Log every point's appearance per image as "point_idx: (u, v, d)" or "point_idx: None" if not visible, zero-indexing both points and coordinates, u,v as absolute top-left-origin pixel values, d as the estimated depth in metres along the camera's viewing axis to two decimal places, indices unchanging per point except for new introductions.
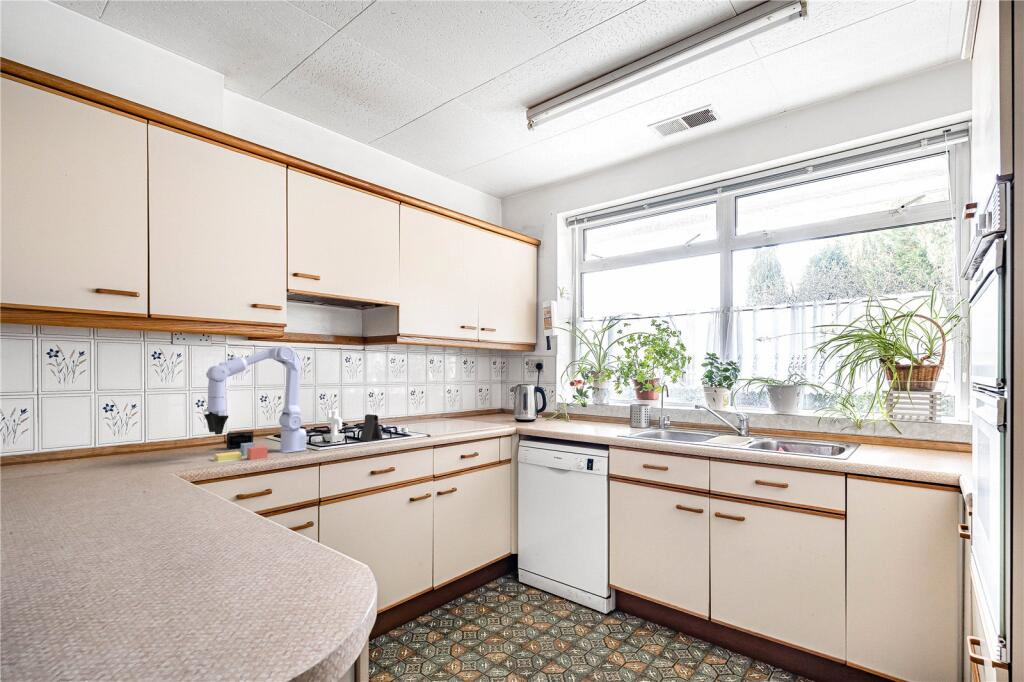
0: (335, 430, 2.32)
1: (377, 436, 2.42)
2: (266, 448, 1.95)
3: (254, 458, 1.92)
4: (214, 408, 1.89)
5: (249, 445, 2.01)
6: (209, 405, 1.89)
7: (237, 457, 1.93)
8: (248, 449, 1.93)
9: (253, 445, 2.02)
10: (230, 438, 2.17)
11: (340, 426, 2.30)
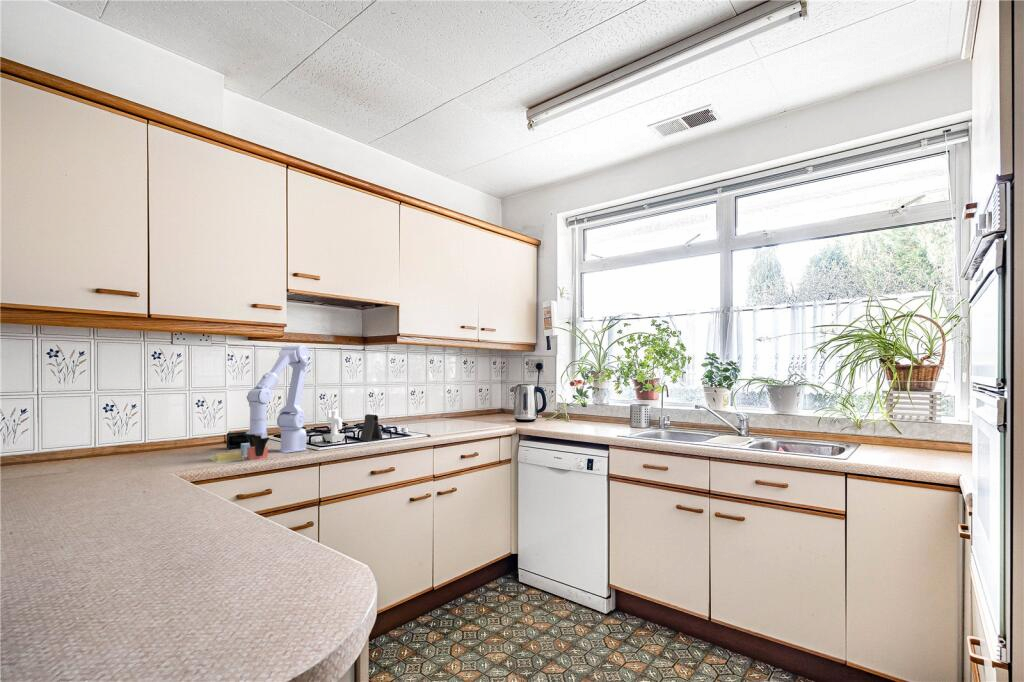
0: (335, 430, 2.32)
1: (377, 436, 2.42)
2: (266, 448, 1.95)
3: (254, 458, 1.92)
4: (256, 430, 1.92)
5: (249, 445, 2.01)
6: (251, 427, 1.92)
7: (237, 457, 1.93)
8: (248, 449, 1.93)
9: None
10: (230, 438, 2.17)
11: (340, 426, 2.30)
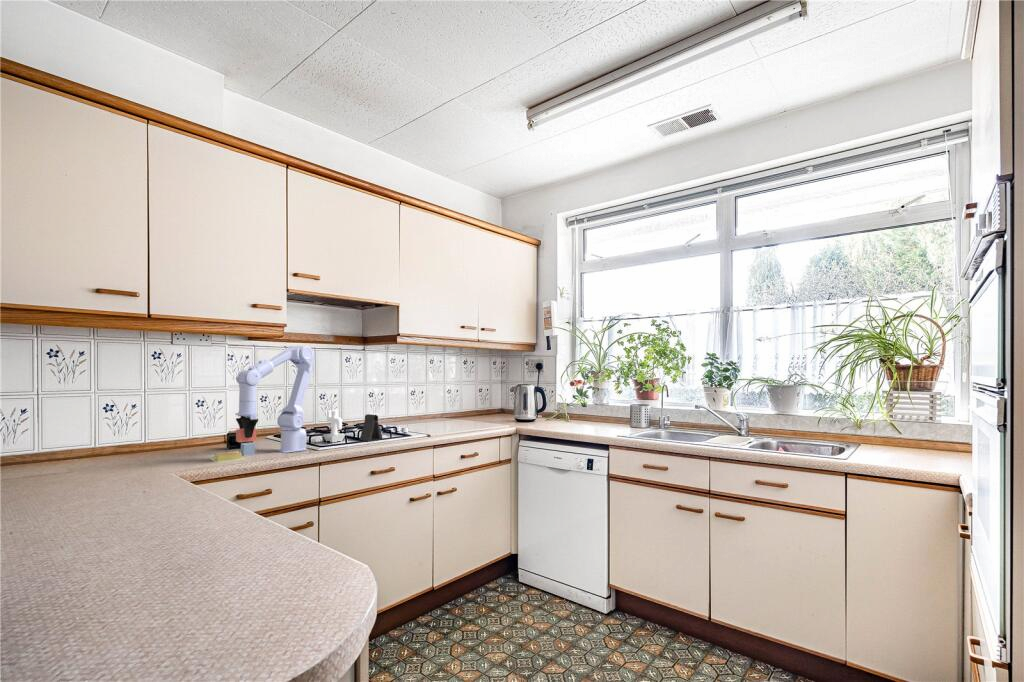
0: (335, 430, 2.32)
1: (377, 436, 2.42)
2: (255, 430, 1.94)
3: (243, 440, 1.91)
4: (246, 412, 1.92)
5: (249, 445, 2.01)
6: (241, 409, 1.92)
7: (237, 457, 1.93)
8: (237, 431, 1.92)
9: (253, 445, 2.02)
10: (230, 438, 2.17)
11: (340, 426, 2.30)
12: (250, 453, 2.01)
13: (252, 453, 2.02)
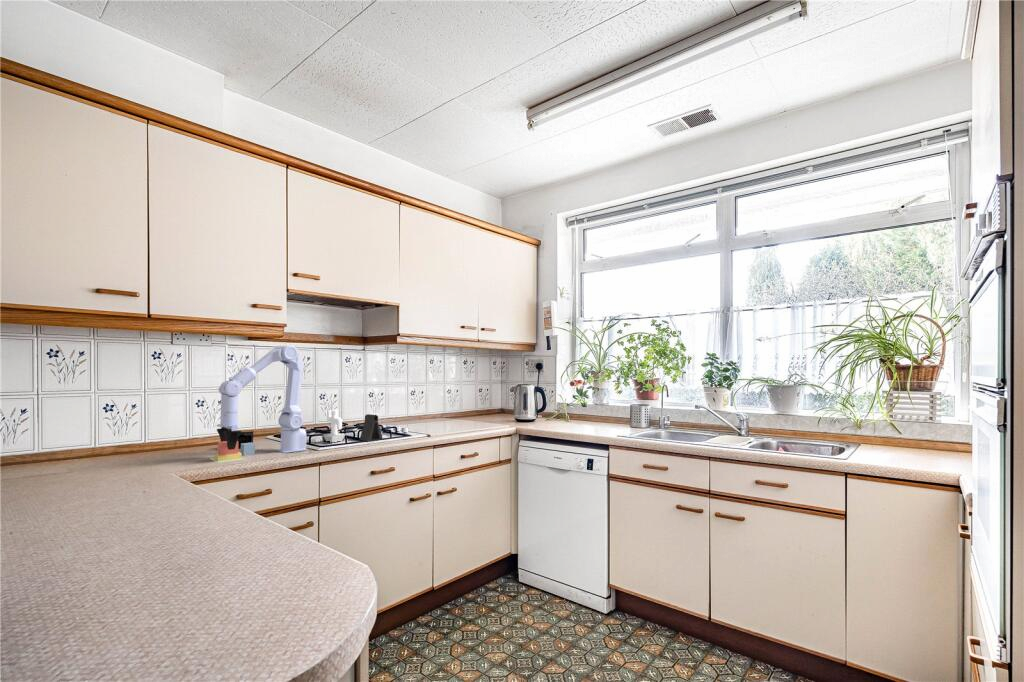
0: (335, 430, 2.32)
1: (377, 436, 2.42)
2: (237, 442, 1.93)
3: (224, 452, 1.90)
4: (227, 423, 1.90)
5: (249, 445, 2.01)
6: (222, 420, 1.91)
7: (237, 457, 1.93)
8: (218, 443, 1.91)
9: (253, 445, 2.02)
10: None
11: (340, 426, 2.30)
12: (250, 453, 2.01)
13: (252, 453, 2.02)
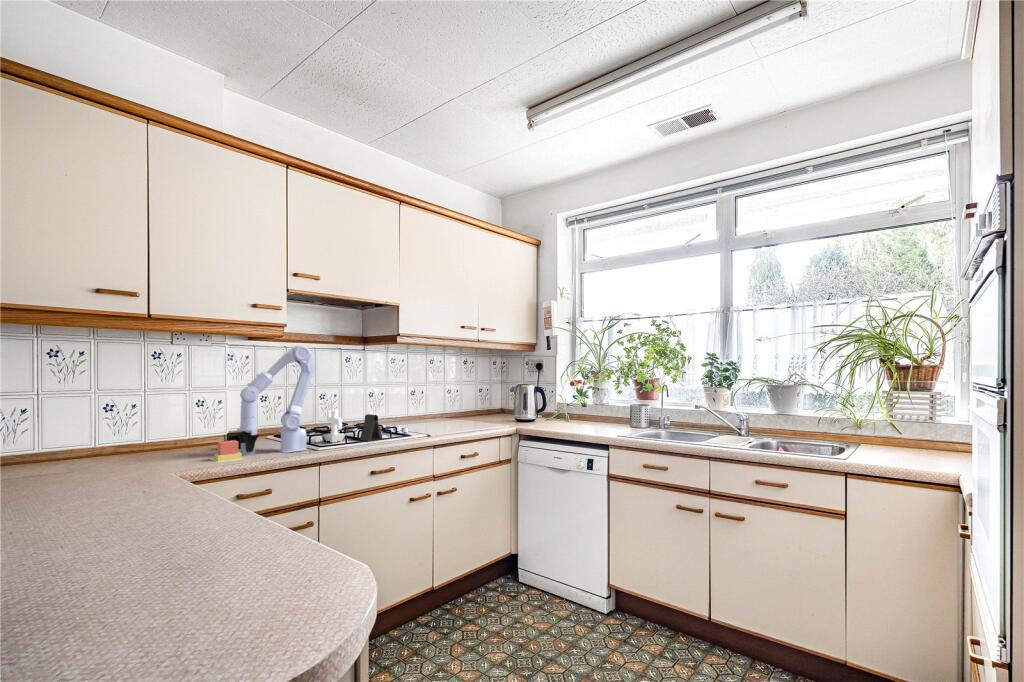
0: (335, 430, 2.32)
1: (377, 436, 2.42)
2: (237, 442, 1.93)
3: (224, 452, 1.90)
4: (247, 427, 2.00)
5: None
6: (242, 425, 2.00)
7: (237, 457, 1.93)
8: (218, 443, 1.91)
9: None
10: (230, 438, 2.17)
11: (340, 426, 2.30)
12: (250, 453, 2.01)
13: (252, 453, 2.02)
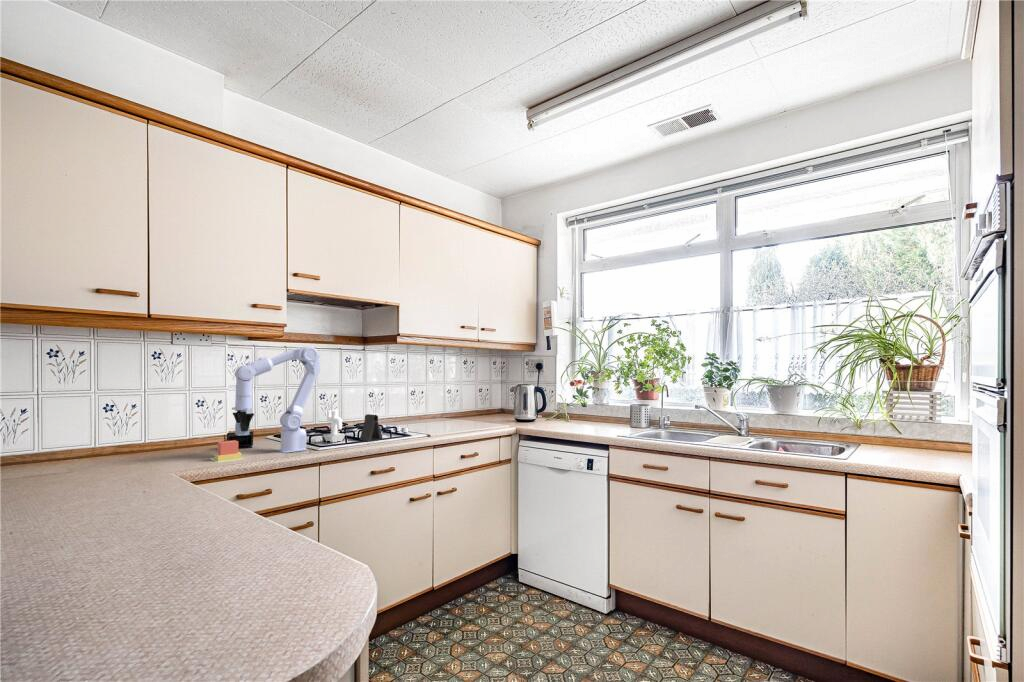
0: (335, 430, 2.32)
1: (377, 436, 2.42)
2: (237, 442, 1.93)
3: (224, 452, 1.90)
4: (242, 406, 1.97)
5: None
6: (237, 403, 1.98)
7: (237, 457, 1.93)
8: (218, 443, 1.91)
9: None
10: (230, 438, 2.17)
11: (340, 426, 2.30)
12: (245, 433, 1.99)
13: (247, 433, 1.99)
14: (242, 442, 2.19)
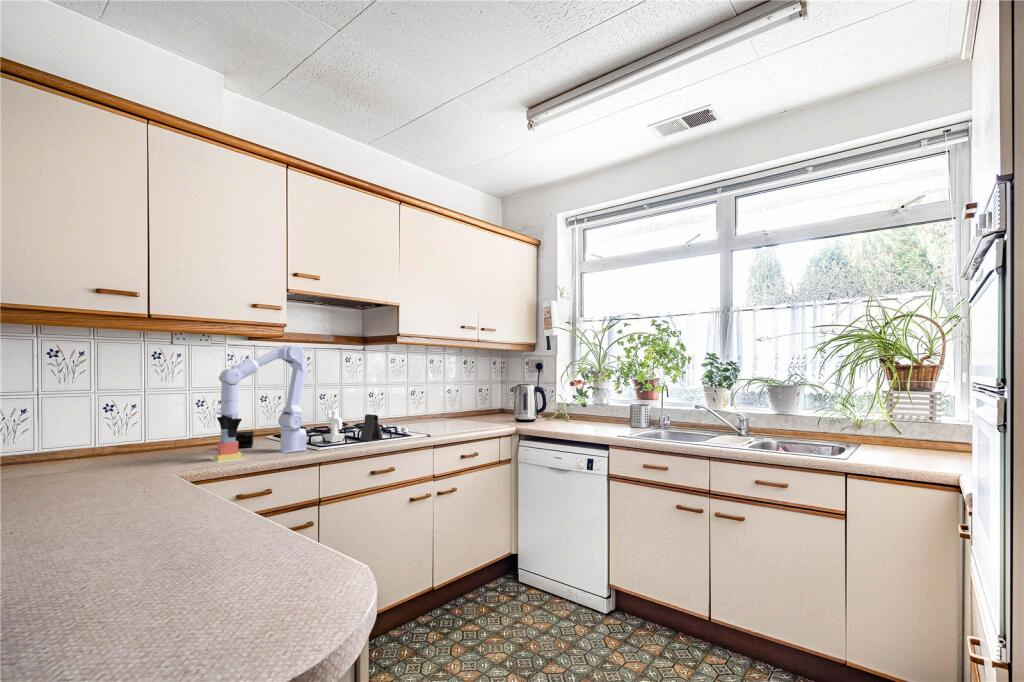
0: (335, 430, 2.32)
1: (377, 436, 2.42)
2: (237, 442, 1.93)
3: (224, 452, 1.90)
4: (227, 411, 1.91)
5: None
6: (222, 408, 1.91)
7: (237, 457, 1.93)
8: (218, 443, 1.91)
9: None
10: None
11: (340, 426, 2.30)
12: (230, 440, 1.92)
13: (233, 440, 1.92)
14: (242, 442, 2.19)
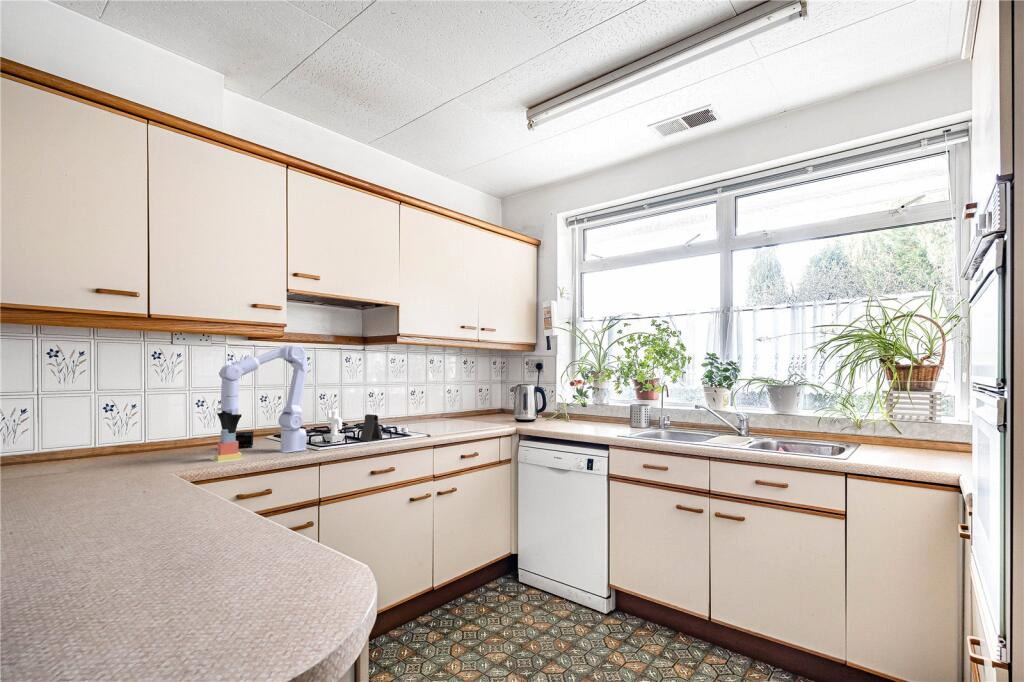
0: (335, 430, 2.32)
1: (377, 436, 2.42)
2: (237, 442, 1.93)
3: (224, 452, 1.90)
4: (227, 407, 1.91)
5: None
6: (222, 404, 1.91)
7: (237, 457, 1.93)
8: (218, 443, 1.91)
9: None
10: None
11: (340, 426, 2.30)
12: (230, 440, 1.92)
13: (233, 440, 1.92)
14: (242, 442, 2.19)
